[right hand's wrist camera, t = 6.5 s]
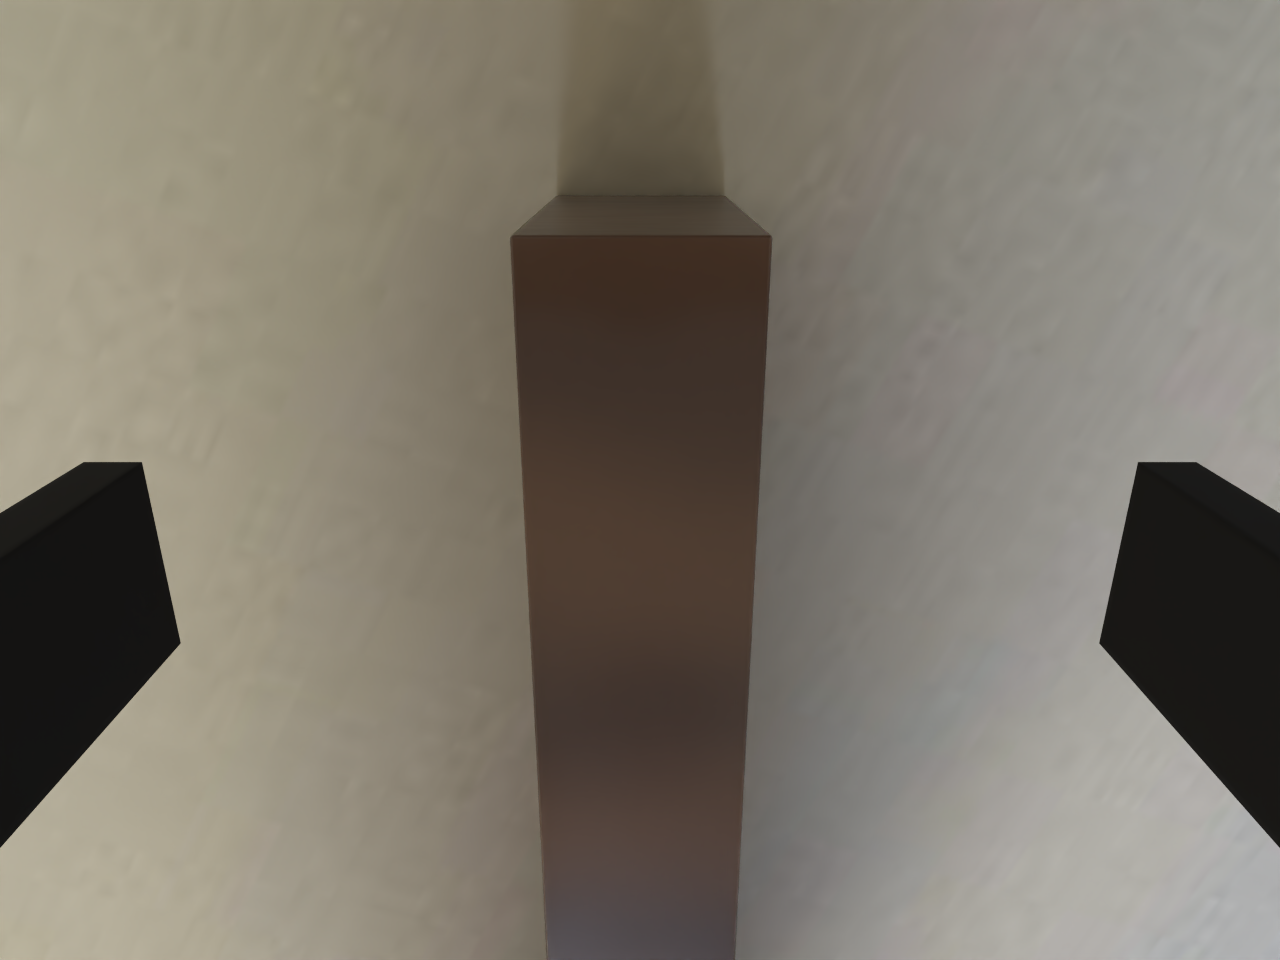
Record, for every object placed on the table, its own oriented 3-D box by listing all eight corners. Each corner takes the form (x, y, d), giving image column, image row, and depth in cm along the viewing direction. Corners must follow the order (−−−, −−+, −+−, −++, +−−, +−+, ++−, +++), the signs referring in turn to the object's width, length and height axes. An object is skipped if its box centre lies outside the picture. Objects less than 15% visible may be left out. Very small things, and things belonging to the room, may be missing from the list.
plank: (555, 195, 27) (509, 235, 17) (726, 195, 27) (772, 235, 17) (582, 1023, 39) (564, 1305, 30) (698, 1023, 39) (717, 1305, 30)
